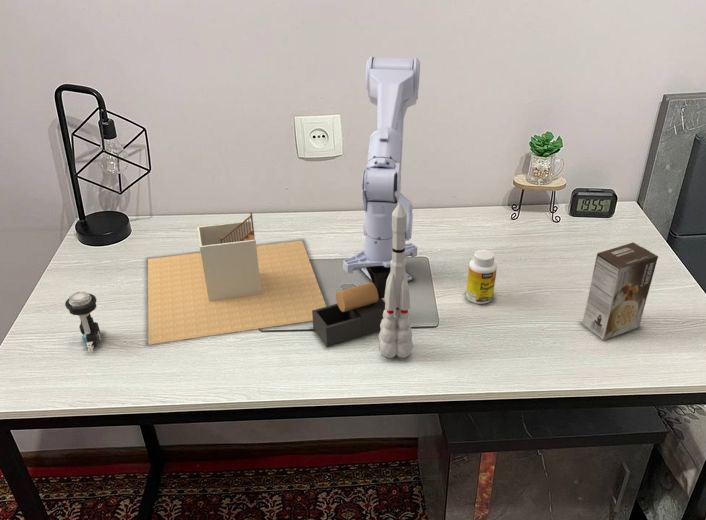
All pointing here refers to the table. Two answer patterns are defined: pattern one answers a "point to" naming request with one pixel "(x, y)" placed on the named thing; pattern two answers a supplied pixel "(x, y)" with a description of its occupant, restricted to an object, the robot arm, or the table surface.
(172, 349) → the table surface
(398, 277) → the rocket model
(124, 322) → the table surface
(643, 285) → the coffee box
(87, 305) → the push button
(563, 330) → the table surface
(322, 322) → the caddy
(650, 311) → the table surface
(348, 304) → the paper roll
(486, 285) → the supplement bottle
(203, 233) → the staircase
